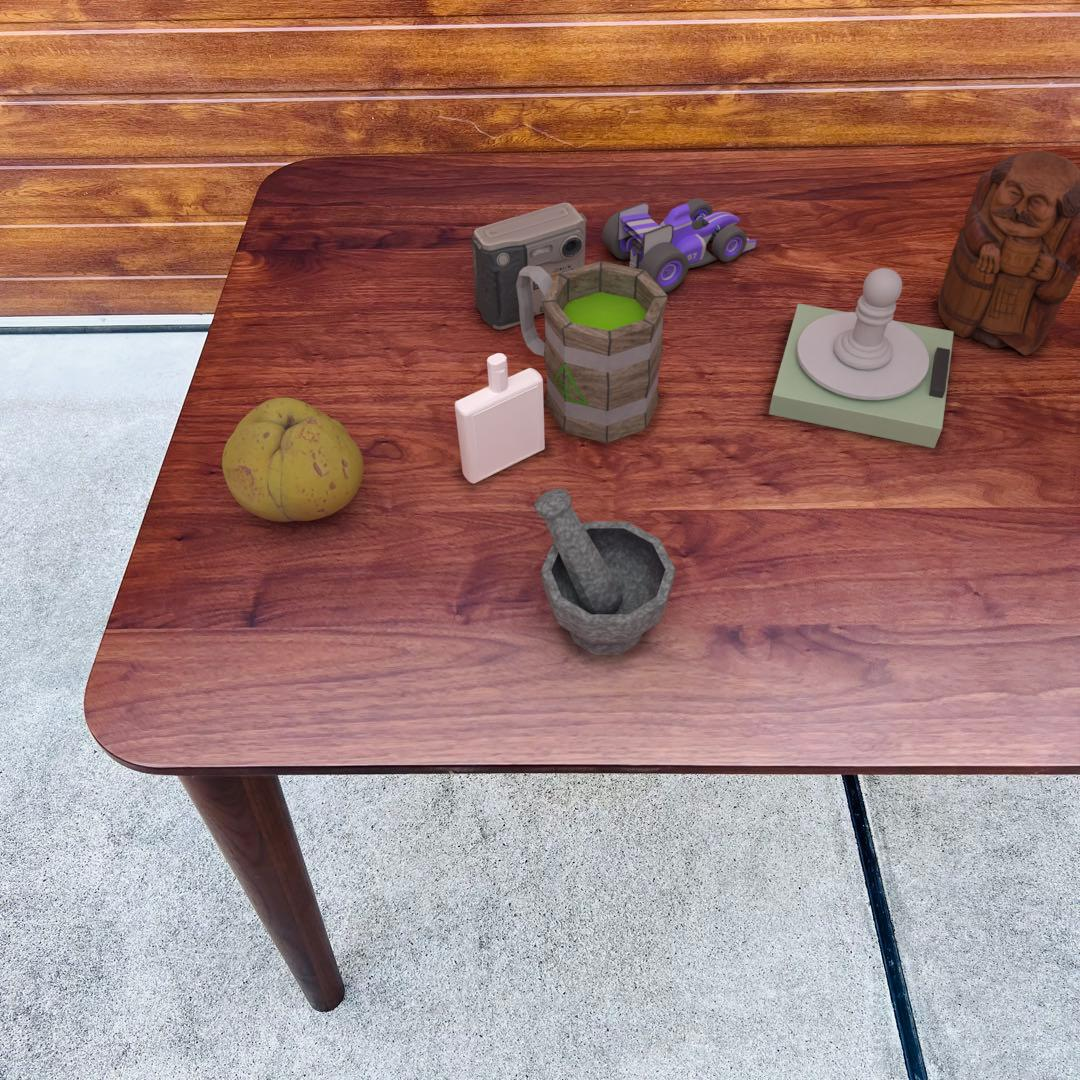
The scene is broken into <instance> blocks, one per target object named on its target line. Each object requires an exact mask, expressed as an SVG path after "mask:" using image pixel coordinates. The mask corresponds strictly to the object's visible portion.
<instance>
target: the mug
mask: <svg viewBox="0 0 1080 1080" xmlns="http://www.w3.org/2000/svg"><path fill="white" fill-rule="evenodd" d="M530 278H531V279H532V280H533V281H534V282H535V283H536V284H537V285H538V287H539V288H540V290H541V292H542V293H543V295H544V296H545V297H544V299H543V300H542V305H543V311H544V313H543V316H544V328H545V329H544V331H545V332H544V333H545V337H544V340H542V339H541V337H539V335H538V332H537V329H536V326H535V318H534V317H535V316H534V314H533V299H532V293H531V287H530ZM516 287H517V294H518V301H519V313H520V324H519V325H520V330H521V335H522V337H523V340H524V343H525V345H526V347H527V348H528V349H529V350H530V351H531V352H532V353H533V354H535V355H536V356H539V357H542V358H543V361H544V366H545V367H544V368H545V372H546V395H545V403H544V406H545V407H546V409H547V410H548V412H549V413H550V414H551V416H552V417H553V419H554V420H555V421H554V422H556V423H557V425H558V426H559V428H560V429H561V431H562V432H563V433H564V434H566V435H567V434H568V435H571V436H576V437H580V438H583V439H587V440H593V441H597V442H600V443H604V444H608V443H610V442H613V441H616V440H619V439H623V438H625V437H628V436H630V435H634V434H637V433H639V432H642V431H645V430H647V428H648V426H649V424H650V422H651V419H652V417H653V415H654V413H655V410H656V408H657V406H658V403H659V401H660V398H659V397H660V396H659V375H660V367H661V361H662V358H663V357H662V356H663V351H664V350H663V346H664V345H663V327H664V326H663V325H664V315H665V311H666V306H667V302H668V297H669V296H668V294H667V293H666V294H665V292H664V291H663V290H662V289H661V288H660V287H659V286H658V284H657V283H656V282H655V281H654V280H653V279H652V278H651V276H650V275H649V274H648V273H647V272H646V271H645V270H642V269H637V268H632V267H630V266H627V265H621V264H615V263H611V262H607V261H601V260H600V261H597V262H592V263H589V264H585V266H582V267H579V268H576V269H572V270H569V271H566V272H562V273H559V274H558V275H557V277H556V278H555V280H554V281H553V280H552V278H551V276H550V275H549V274H548V273H547V272H546V271H545V270H544V269H543V268H542V267H540V266H526V267H524V268H523V269H522V270H521V271H520V272H519V276H518V279H517V283H516Z"/></svg>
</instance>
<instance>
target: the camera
mask: <svg viewBox="0 0 1080 1080" xmlns="http://www.w3.org/2000/svg"><path fill="white" fill-rule="evenodd" d="M587 221H588V220H587V217H586V216H585V215H584V214H583V213H582V212H580V213H579V211H577V209H576V207H574V206H573V205H572V203H569V202H561V203H558V204H554V205H550V206H547V207H544V208H541V209H538V210H534V211H531V212H528V213H525V214H520V215H517V216H514V217H510V218H507V219H503V220H500V221H497V222H493V223H490V224H487V225H483V226H480V227H477V228H476V229H474V230H473V234H472V236H471V238H470V245H471V253H472V272H473V280H474V281H473V282H474V283H473V284H474V297H475V298H474V299H475V306H476V308H477V311H478V312H479V313H480V314H481V319H482V320H483V321H484V322H485V323H486V324H487V325H489V326H490V327H492V328H493V329H494V330H497V331H504V330H508V329H510V328H513V327H516V326H519V325H521V324H520V313H519V301H518V294H517V287H516V283H517V279H518V276H519V272H520V271H521V270H522V269H523V268H524V267H526V266H540V267H542V268H543V269H544V270H545V271H546V272H547V273H548V274H549V275H550V276H551V278H552V280H553V281H554V280H555V278H556V277H557V275H558V274H559V273H562V272H566V271H569V270H572V269H576V268H579V267H582V266H586V262H585V261H586V240H587V239H586V237H587V236H586V235H587V234H586V231H587V230H586V228H587ZM530 287H531V293H532V299H533V314H534V317H535V316H539V315H541V314H544V311H543V305H542V300H543V299H544V297H545V296H544V295H543V293H542V292H541V290H540V288H539V287H538V285H537V284H536V283H535V282H534V281H533V280H532V279H531V278H530Z"/></svg>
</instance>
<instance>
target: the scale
mask: <svg viewBox="0 0 1080 1080" xmlns="http://www.w3.org/2000/svg"><path fill="white" fill-rule="evenodd" d="M795 308H796V309H795V313H794V316H793V319H792V323H791V327H790V331H789V334H788V337H787V342H786V345H785V348H784V352H783V355H782V359H781V362H780V367H779V369H778V373H777V378H776V380H775V383H774V384H775V385H774V388H773V392H772V395H771V400H770V405H769V408H768V415H770V416H775V417H779V418H785V419H790V420H795V421H799V422H805V423H810V424H813V425H819V426H824V427H828V428H834V429H839V430H843V431H848V432H853V433H858V434H863V435H866V436H873V437H877V438H881V439H882V438H883V439H886V440H892V441H897V442H901V443H907V444H911V445H917V446H919V447H926V448H931V449H935V448H936V446H937V443H938V440H939V438H940V435H941V433H942V430H943V426H944V418H945V411H946V410H945V409H946V400H947V392H948V383H949V378H950V377H949V375H950V368H951V361H952V360H951V359H952V351H953V342H954V334H955V333H954V331H951V330H950V329H948V330H947V329H942V328H938V327H931V326H926V325H920V324H914V323H908V322H904V321H897V320H894V319H892V320H891V321H890V322H889V323H888V324H887V326H886V330H885V333H884V336H885V337H886V338H887V339H888V340H889V341H890V343H891V345H892V348H893V355H892V358H891V359H890V361H889V362H888V363H887V364H886V365H884V366H883V367H880V368H877V369H872V370H861V369H856V368H853V367H850V366H848V365H846V364H845V363H843V362H842V361H841V360H840V359H839V358H838V357H837V356H836V354H835V352H834V342H835V340H836V338H837V337H838V336H839V335H840V334H841V333H843V332H844V331H847V330H850V329H854V328H855V324H856V320H857V316H856V313H855V311H842V310H837V309H832V308H826V307H820V306H814V305H811V304H804V303H797V305H796V307H795Z"/></svg>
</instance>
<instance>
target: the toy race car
mask: <svg viewBox="0 0 1080 1080" xmlns="http://www.w3.org/2000/svg"><path fill="white" fill-rule="evenodd" d="M649 207H650V206H649V204H648V203H646V202H642V203H641V202H640V203H639V204H636V205H633V206H631V207H628V208H625V209H621V210H619V211H617V212H615V213H614V214H612V216H610V218H608V220H607V221H606V223H605V224H604V227H603V229H602V233H601V239H602V240H601V241H602V244H603V247H605V248H606V249H607V250H608V251H609V252H610V253H611V254H612V255H613V256H614V257H615V258H616V259H619V260H621V261H622V260H623V261H626V260H629V264H628V265H629V266H628V267H632V268H637V269H642V270H645V271H646V272H647V273H648V274H649V275H650V276H651V278H652V279H653V280H654V281H655V282H656V283H657V284H658V286H659V287H660V288H661V289H662V290H663V291H664V292H665V294H666V295H667V294H669V293H671V292H672V291H674V290H675V289H677V288H678V287H679V286H680V285H682V283H683V281H684V280H685V278H686V277H687V274H688V271H689V269H692V268H698V267H701V266H704V265H707V264H710V263H712V262H715V261H718V259H719V260H720V261H721V262H723V263H731V262H733V261H736V259H738V258H739V257H740V256H741V255H742V254H743V253H746V252H748V251H751V250H753V249H754V250H755V249H756V247H757V243H758V240H757V239H755V238H753V239H749V238H748V237H747V234H746V232H745V231H743V230H742V229H741V228H740V227H738V226H737V225H736V224H739V223H740V222H741V218H739V217H738V216H737V215H734V214H733V213H730V212H729V211H713V207H712V206H711V204H709V203H708V202H707V201H705V199H703V198H701V197H694V198H692V199H690V200H689V201H687V202H686V203H683V204H681V205H680V204H679V205H678V206H676V207H674V208H672V209H671V210H670V211H669V213H668V215H667V216H666V217H665V218H663V221H662V222H660V224H658V223H657V222H656V221H654V220H653V217H652V216H651V215H650V214H649ZM709 241H710V242H712V244H711V252H712V254H711V252H709V251H708V250H707V244H708V243H709Z"/></svg>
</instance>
